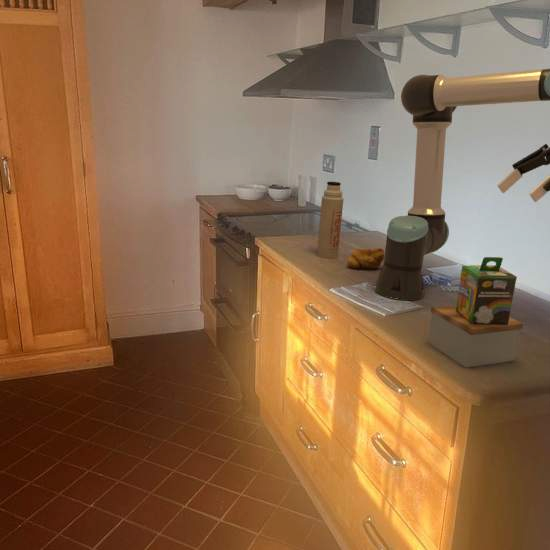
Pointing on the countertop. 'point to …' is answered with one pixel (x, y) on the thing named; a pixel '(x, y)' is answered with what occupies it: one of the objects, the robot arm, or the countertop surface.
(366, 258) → the bread roll
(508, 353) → the grey crate
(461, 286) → the chalk box
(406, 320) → the countertop surface
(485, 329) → the walnut lid
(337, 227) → the thermos bottle
